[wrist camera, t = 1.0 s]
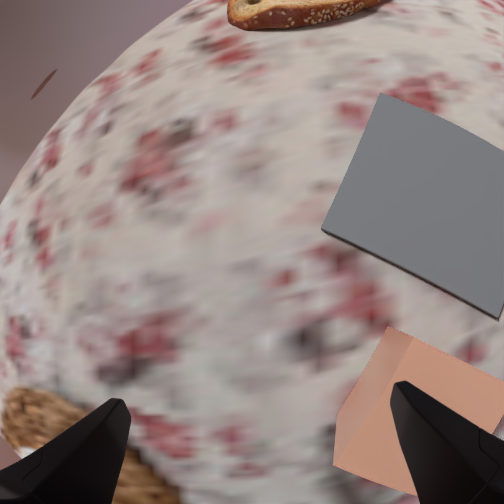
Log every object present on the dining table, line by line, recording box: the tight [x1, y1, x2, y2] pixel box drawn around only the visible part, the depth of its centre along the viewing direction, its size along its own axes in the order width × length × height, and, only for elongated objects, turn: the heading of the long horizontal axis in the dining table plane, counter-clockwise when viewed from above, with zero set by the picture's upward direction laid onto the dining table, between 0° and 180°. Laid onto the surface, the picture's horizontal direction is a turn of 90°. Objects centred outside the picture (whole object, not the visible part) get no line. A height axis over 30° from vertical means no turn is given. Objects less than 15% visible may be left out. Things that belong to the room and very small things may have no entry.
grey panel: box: [321, 93, 504, 318], centre depth 18 cm, size 14×12×1 cm
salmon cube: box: [333, 326, 504, 496], centre depth 13 cm, size 7×7×7 cm
